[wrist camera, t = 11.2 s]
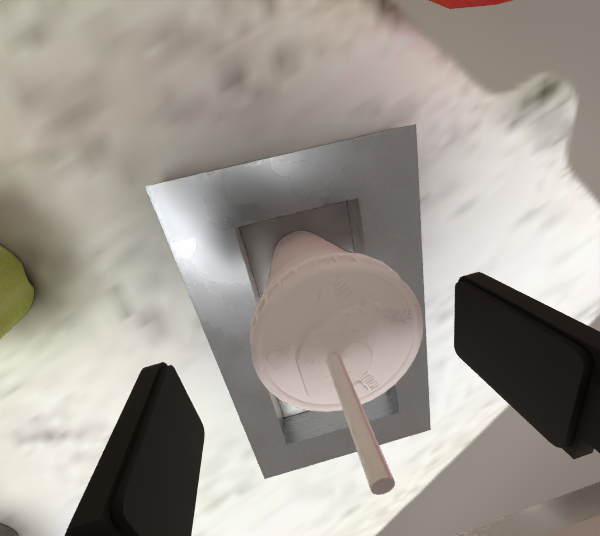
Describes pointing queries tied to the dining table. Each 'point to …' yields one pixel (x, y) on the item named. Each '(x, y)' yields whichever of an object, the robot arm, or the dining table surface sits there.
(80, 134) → the dining table surface
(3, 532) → the beverage cup
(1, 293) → the plant pot
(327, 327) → the smoothie
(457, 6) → the apple
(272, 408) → the keyhole plate
